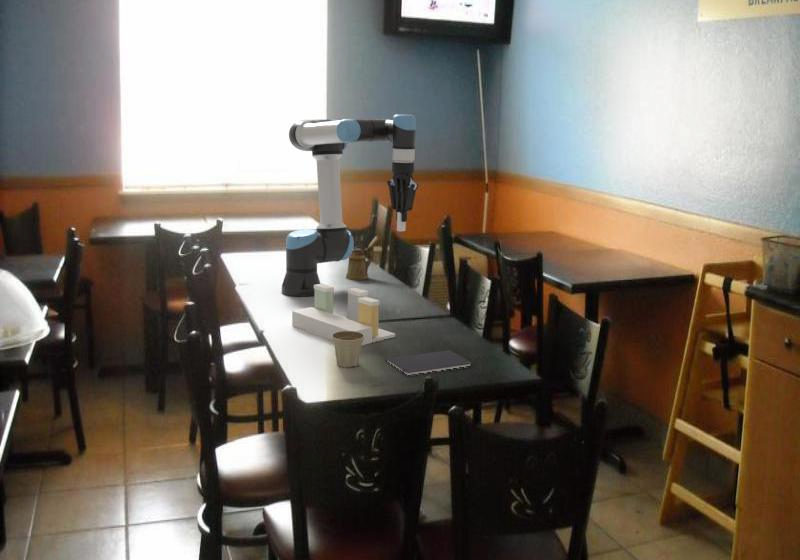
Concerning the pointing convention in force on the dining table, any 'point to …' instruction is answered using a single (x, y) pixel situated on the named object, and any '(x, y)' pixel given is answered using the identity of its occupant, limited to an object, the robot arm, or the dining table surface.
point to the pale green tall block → (324, 297)
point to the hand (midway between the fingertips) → (401, 230)
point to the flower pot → (347, 347)
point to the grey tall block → (354, 302)
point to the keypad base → (333, 325)
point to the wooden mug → (360, 262)
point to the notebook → (429, 362)
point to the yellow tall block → (369, 313)
